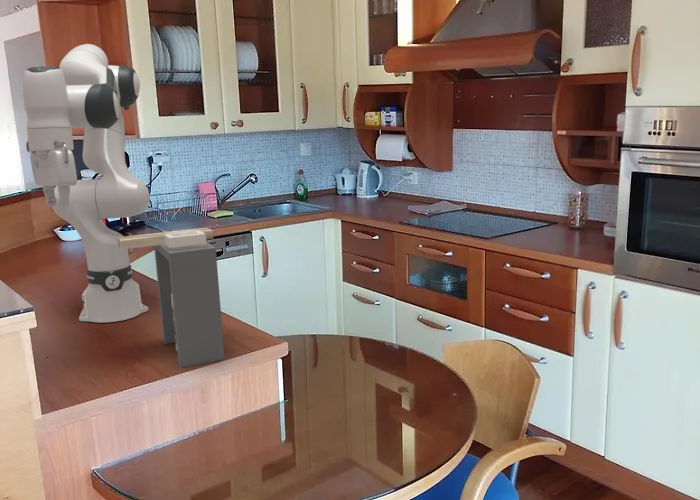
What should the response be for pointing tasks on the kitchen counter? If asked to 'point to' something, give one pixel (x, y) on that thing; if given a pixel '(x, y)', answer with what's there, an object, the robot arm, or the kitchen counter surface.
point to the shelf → (190, 303)
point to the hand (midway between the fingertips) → (57, 206)
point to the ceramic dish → (185, 240)
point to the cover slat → (153, 239)
